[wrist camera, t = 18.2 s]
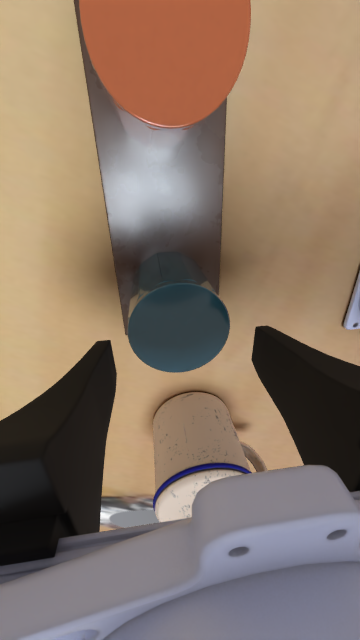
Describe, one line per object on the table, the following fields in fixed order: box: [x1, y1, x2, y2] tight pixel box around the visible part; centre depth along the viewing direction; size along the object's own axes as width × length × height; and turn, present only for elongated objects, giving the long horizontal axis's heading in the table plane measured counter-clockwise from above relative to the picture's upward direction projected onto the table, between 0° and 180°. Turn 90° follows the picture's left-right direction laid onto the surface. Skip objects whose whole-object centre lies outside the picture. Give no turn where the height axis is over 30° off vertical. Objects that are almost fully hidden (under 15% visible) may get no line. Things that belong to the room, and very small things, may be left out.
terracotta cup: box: [79, 0, 251, 149], centre depth 12 cm, size 6×6×7 cm
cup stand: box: [74, 0, 227, 335], centre depth 16 cm, size 8×20×6 cm, turn 2°
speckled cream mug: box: [153, 392, 267, 522], centre depth 25 cm, size 12×9×12 cm
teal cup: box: [127, 251, 230, 372], centre depth 17 cm, size 6×6×7 cm
